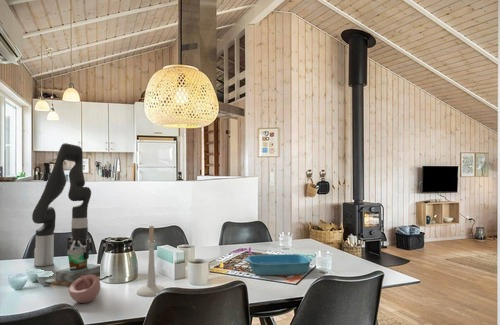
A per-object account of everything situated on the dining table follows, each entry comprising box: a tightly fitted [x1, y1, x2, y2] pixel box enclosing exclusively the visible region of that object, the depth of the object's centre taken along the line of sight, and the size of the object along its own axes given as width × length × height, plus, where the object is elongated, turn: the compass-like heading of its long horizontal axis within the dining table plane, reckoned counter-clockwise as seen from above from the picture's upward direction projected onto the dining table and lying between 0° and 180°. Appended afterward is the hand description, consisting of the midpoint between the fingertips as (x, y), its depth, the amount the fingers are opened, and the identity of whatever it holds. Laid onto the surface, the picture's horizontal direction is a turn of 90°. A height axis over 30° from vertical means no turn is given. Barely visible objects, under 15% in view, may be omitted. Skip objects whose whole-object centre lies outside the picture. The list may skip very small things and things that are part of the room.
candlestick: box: [136, 225, 166, 298], centre depth 172 cm, size 13×13×30 cm
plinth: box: [51, 263, 102, 287], centre depth 192 cm, size 22×22×5 cm
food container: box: [66, 247, 88, 270], centre depth 191 cm, size 12×6×10 cm, turn 166°
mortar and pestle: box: [68, 274, 101, 304], centre depth 158 cm, size 12×12×12 cm
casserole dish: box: [244, 253, 313, 276], centre depth 207 cm, size 37×22×7 cm, turn 99°
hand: (79, 258), depth 192 cm, fingers open, 8 cm apart
